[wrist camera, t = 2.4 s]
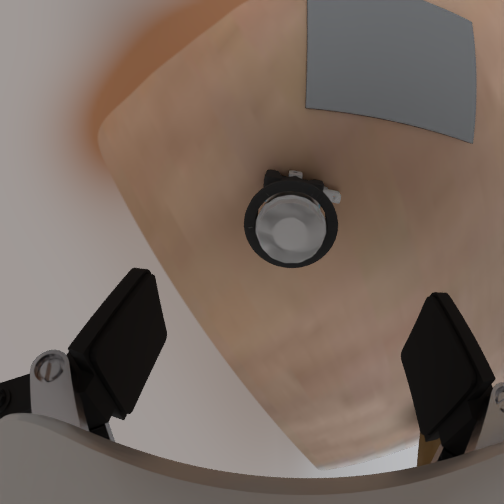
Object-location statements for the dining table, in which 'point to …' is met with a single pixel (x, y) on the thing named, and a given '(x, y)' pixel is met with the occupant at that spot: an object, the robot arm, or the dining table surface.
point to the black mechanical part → (292, 220)
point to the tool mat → (393, 63)
